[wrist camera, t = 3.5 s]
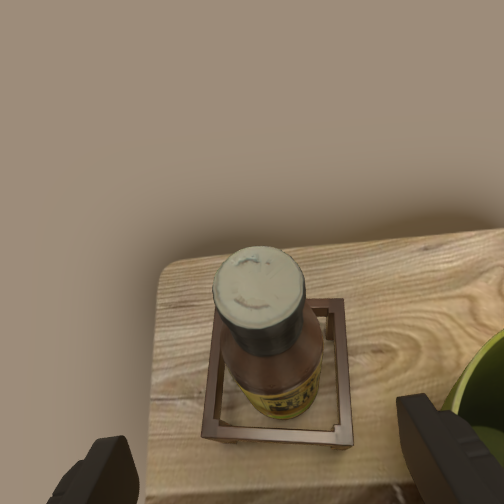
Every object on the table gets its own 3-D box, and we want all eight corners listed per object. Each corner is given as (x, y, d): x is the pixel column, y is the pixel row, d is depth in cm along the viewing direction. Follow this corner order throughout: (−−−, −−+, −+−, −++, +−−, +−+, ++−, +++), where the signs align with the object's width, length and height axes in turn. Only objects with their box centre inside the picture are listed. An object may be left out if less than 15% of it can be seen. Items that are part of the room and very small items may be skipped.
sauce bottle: (284, 439, 31) (247, 403, 13) (233, 383, 33) (147, 296, 16) (335, 380, 32) (359, 282, 15) (282, 332, 35) (252, 203, 18)
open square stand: (222, 443, 31) (200, 437, 25) (232, 326, 36) (215, 298, 30) (345, 450, 30) (354, 446, 24) (338, 327, 34) (343, 298, 28)
